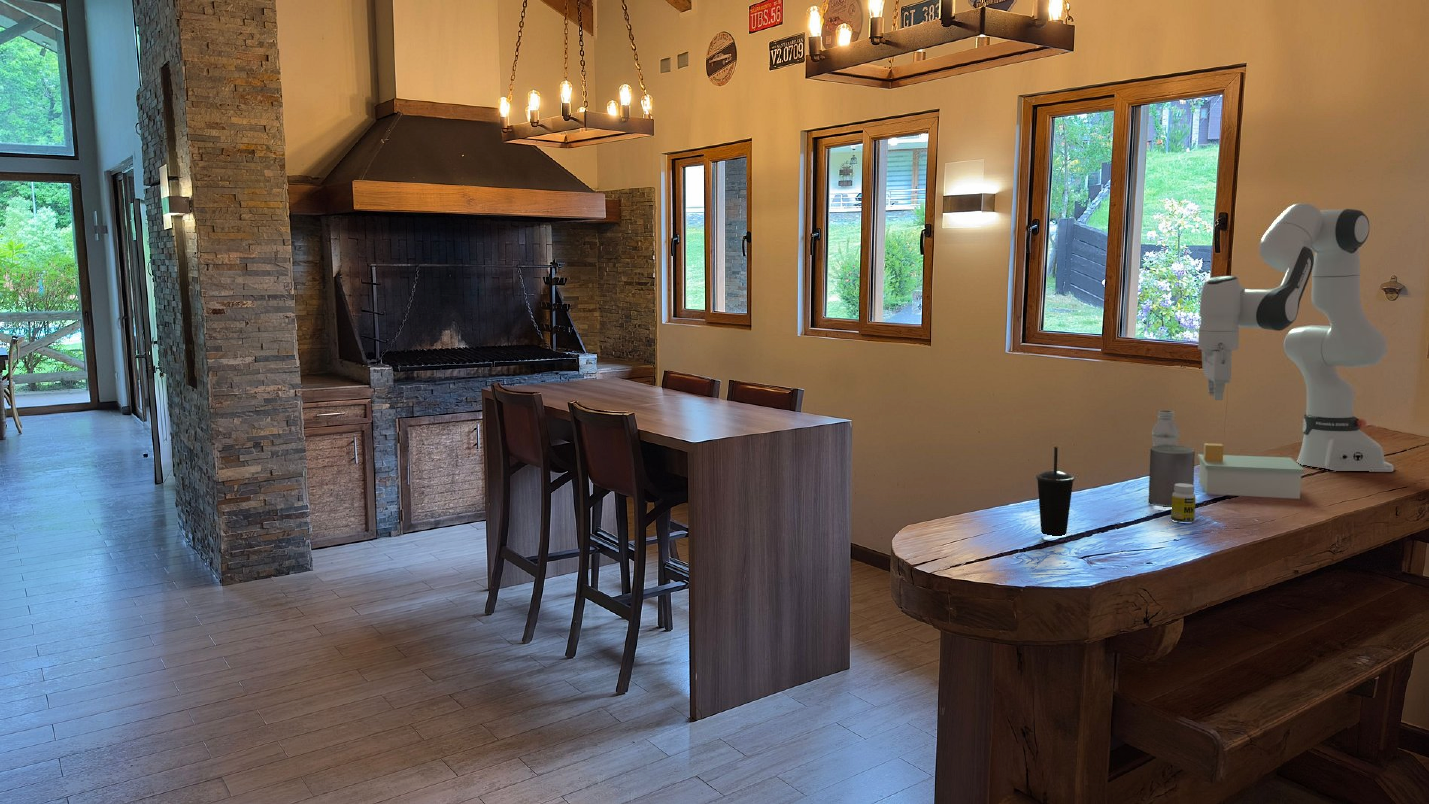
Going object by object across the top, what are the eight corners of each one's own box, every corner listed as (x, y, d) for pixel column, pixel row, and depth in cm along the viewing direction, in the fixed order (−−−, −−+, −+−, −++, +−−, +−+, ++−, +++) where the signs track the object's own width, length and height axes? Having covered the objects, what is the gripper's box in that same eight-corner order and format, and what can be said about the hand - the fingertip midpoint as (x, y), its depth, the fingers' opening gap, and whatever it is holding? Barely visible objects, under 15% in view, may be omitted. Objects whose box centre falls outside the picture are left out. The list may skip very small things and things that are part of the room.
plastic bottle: (1171, 485, 248) (1174, 409, 245) (1181, 491, 241) (1184, 413, 238) (1145, 485, 248) (1148, 409, 246) (1154, 491, 242) (1157, 413, 239)
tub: (1287, 488, 240) (1288, 461, 240) (1299, 501, 227) (1301, 473, 226) (1199, 484, 247) (1200, 458, 246) (1206, 497, 234) (1207, 469, 233)
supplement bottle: (1185, 525, 210) (1186, 488, 209) (1166, 520, 214) (1167, 484, 213) (1199, 522, 212) (1200, 485, 211) (1180, 517, 216) (1181, 481, 215)
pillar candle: (1152, 497, 235) (1154, 438, 233) (1196, 502, 229) (1198, 441, 227) (1144, 506, 227) (1146, 445, 225) (1189, 511, 221) (1191, 448, 219)
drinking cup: (1068, 546, 197) (1071, 451, 194) (1030, 541, 201) (1032, 448, 198) (1076, 537, 203) (1078, 445, 200) (1039, 532, 207) (1041, 442, 204)
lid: (1290, 467, 240) (1291, 441, 239) (1304, 479, 226) (1305, 453, 225) (1197, 463, 247) (1198, 439, 246) (1205, 475, 233) (1206, 449, 232)
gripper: (1239, 345, 224) (1236, 403, 226) (1226, 339, 244) (1223, 393, 245) (1209, 345, 227) (1206, 402, 228) (1198, 339, 246) (1196, 392, 247)
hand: (1215, 397), depth 237 cm, fingers open, 8 cm apart
